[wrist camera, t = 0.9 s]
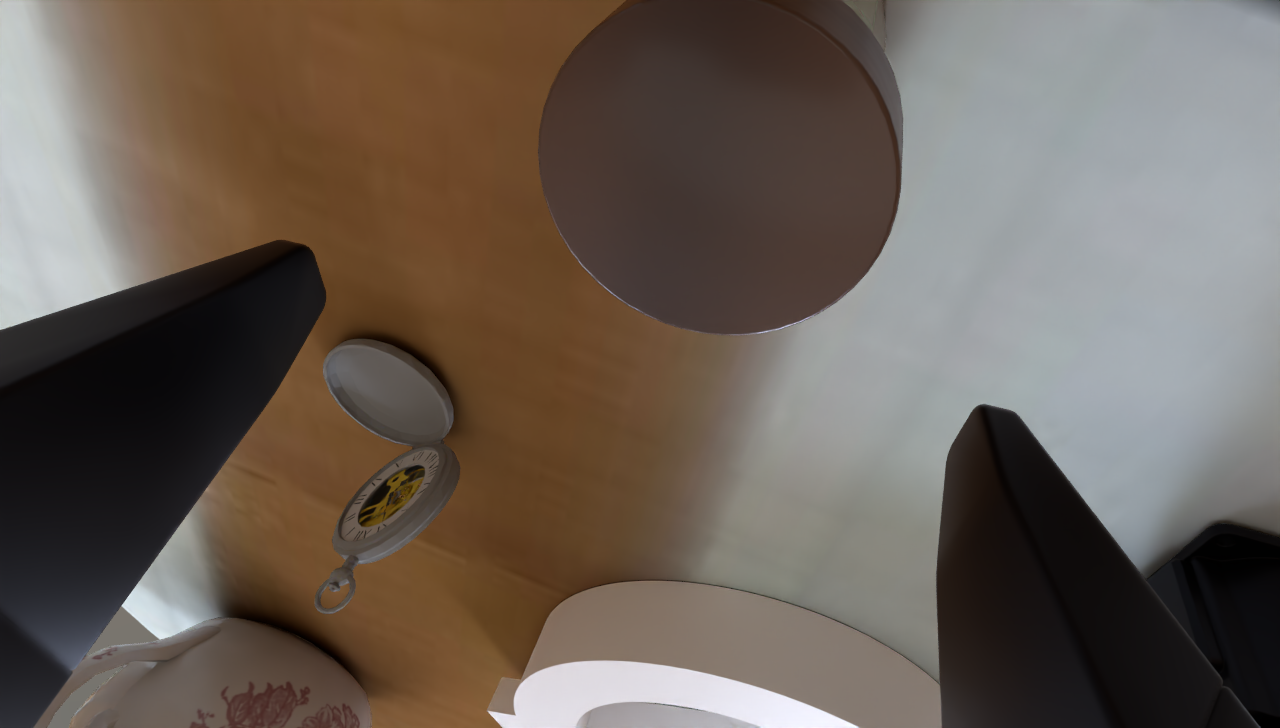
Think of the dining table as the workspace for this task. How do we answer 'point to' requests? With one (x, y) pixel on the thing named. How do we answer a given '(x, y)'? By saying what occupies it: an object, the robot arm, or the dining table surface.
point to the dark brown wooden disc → (725, 158)
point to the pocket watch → (405, 414)
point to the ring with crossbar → (708, 666)
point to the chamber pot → (217, 682)
